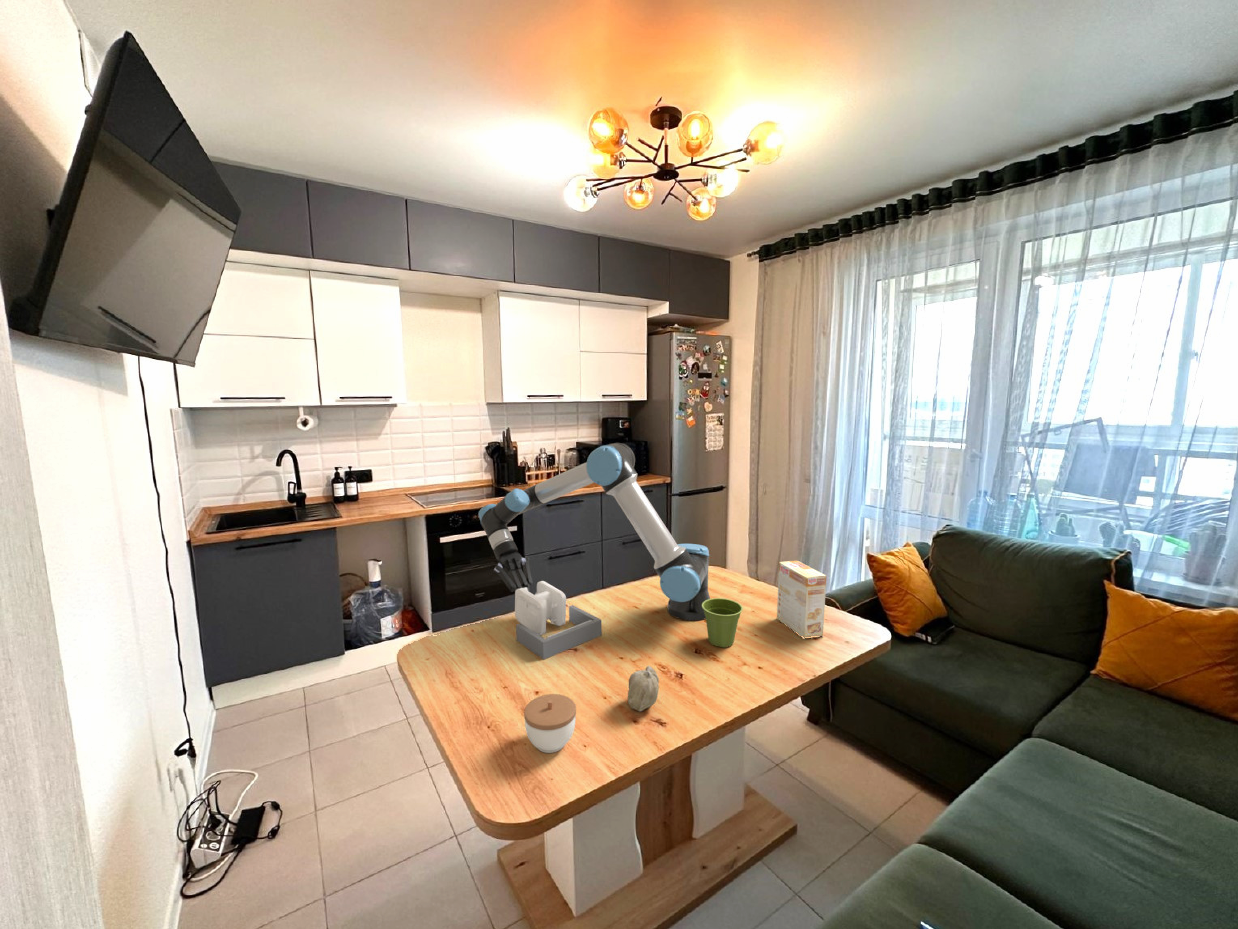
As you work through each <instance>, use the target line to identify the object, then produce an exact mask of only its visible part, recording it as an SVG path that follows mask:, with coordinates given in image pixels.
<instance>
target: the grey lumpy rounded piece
mask: <svg viewBox="0 0 1238 929" xmlns="http://www.w3.org/2000/svg"><path fill="white" fill-rule="evenodd" d="M659 679H660V678H659V676H658V674H657V671H656V670H655V669H654V668H652V666H650V665H647V666H646V667H645V669H643V670H641V669H640V670H636V671H635V672H633V673H632V674H631V675H630V677H629V678H628V691H627V703H628V706H630V708H631V709H632V710H636V711H638V712H642V711H644V710H646V709H648V708H650V707H652V706H653V705H654V704H656V702H657V699H658V694H659V688H660V686H659V682H660V680H659Z"/></svg>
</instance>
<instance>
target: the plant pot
mask: <svg viewBox="0 0 1238 929" xmlns="http://www.w3.org/2000/svg"><path fill="white" fill-rule="evenodd" d="M702 608H703V609H704V614H705V616H706V619H705V622H706V628H707V629H706V630H707V636H708V642H709V644H711V645H712V646H714V645H715V646H714V647H719V648H728V647H727V646H729V647H731V646H733V644H734V643H735V642H734V641H735V637H736V632H737V627H738V622H739V620H740V616H741V613H742V612H743V610H744V607H743V605H742V604H740V603H739V602H737V601H735V600H733V599H728V598H724V597H723V598H721V597H713V598H710V599H708V600H706V601H704V602H703V603H702Z"/></svg>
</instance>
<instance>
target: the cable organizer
mask: <svg viewBox="0 0 1238 929" xmlns="http://www.w3.org/2000/svg"><path fill="white" fill-rule="evenodd" d="M514 598H515V599H514V617H515V619H516V620H517V622H518V623H519V624H520V623H521V624H522V625H524V626H525V627H527V628H529V629H530V630H532V631H533V632H535V633H536V634H538V635H540V636H542V635H545V634H546V632H547V620H548V621H550V625H555V626H557V627H561V626H563V625H566V618H567V597H566V594H565V593H564V592H563V591H562V590H560V589H558V588H556V587H555V586H554V585H551V584H550V583H548V582H547V581H544V580H541V581H538V582H537V584H536V592H535V594H533V593H532V592H531V593H530V592H529V591H527V590H525V589H524V588H519V589H517V590H516V591H514Z"/></svg>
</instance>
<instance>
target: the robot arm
mask: <svg viewBox="0 0 1238 929" xmlns="http://www.w3.org/2000/svg"><path fill="white" fill-rule="evenodd" d="M635 463H636V457H635V453H634V452H633V450H632V449H631V447H630V446H629V445H627V444H625V443H620V442H615V443H609V444H606V445H600V446H599V447H597V448H595V449H594V450H593V451H591V452H590V454H589V455H588V457H587V460H586V462H584V463H581V464H579V465H577V466H575V467H573V468H570V469H569V470H566V471H564V472H561V473H560V474H557V475H555V476H552V477H550V478H549V479H545V480H544V481H541V482H538V483H536V484H534V485H533V486H530V487H527V488H525V489H520V488H514V489H512V490H511V491H510V492H508V493H506V495H505V496H504V497H503V498H501V500H500V501H499V502H498V503H497V504H495V503H490V504H487V505H485V506H483V507H481V509H480V510H479V511H478V518H479V520H480V525H481V526H482V528H483V530H484V532H485V534H486V536H487V539H488V541H489V545H490V546H491V548H492V550H493V553H494V555H495V558H496V560H497V565H495V567H494V569H493V572H495V573H496V574H497V575H498V576H499V577H500V579H501V580H502V581H503V583H504V584H505V586H506V587H507V588H508V590H509V591H510V592H511V593H513V592H515V591H516V590H517V589H519V588H524V589H525V590H527V591H529V592H530V593H532V591H531V589H530V588H531V587H530V586H531V585H533V576H532V573H531V568H530V560H531V559H530V558H529V557H526V558H524V557H523V556H522V555H521V554H520V553H519V550H518V547H517V545H516V543H515V541H514V538H513V536H512V534H511V532H510V530H509V527H508V524H509V523H511V521H513V519H515V518H516V517H517V516H518V515H521V514H524V513H526V512H527V511H530V510H533V509H535V508H537V507H539V506H542V505H544V504H546V503H548V502H552V501H553V500H556V499H558V498H561V497H562V496H563V497H564V496H565V495H568V494H570V493H572V492H575V491H577V490H580V489H582V488H585V487H587V486H589V485H591V484H597V485H599V486H600V487H601V489H603V491H604V492H605V494H606V495H608V496H612V497H613V498H614V499H615V501H616V502H617V504H618V506H620V508H621V510H622V511H623V513H624V515H625V517H626V518H627V520H629V522H630V524H631V525H632V527H633V528H634V530H635V532H636V533H637V535H638V537H639V538H640V540H641V541H642V542H643V544H644V545H645V548H646V550H648V552H649V554H650V555H651V557H652V558H653V560H654V564H653V568H654V570H655V572H656V574H657V575H658V577H659V579H660V580H659V586H660V590H661V592H662V594H664V596H666V597H667V598H668V599H669V600H668V602H667V612H668V614H670V616H673V617H674V618H677V619H680V620H685V621H702V620H706V616H705V614H704V609H703V608H702V603H703V602H704V601H706V600H708V599H711V597H710V596H711V595H710V593H709V558H710V552H709V548H708V547H707V546H705V545H702V544H695V543H678V544H677V541H676V540H675V538H673V536H672V534H671V532H670V531H669V529H668V527H666V525H665V523H664V521H662V519H661V517H660V515H659V514H658V512H657V511H656V509H655V508H654V506H653V505H652V503H651V502H650V500H649V499H648V497H647V496H646V494H645V493H644V490H642V488H641V486H640V484H639V483H638V482H637V479H638V473H637V471H636V469H635V465H636V464H635ZM522 569H523V570H522Z"/></svg>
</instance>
